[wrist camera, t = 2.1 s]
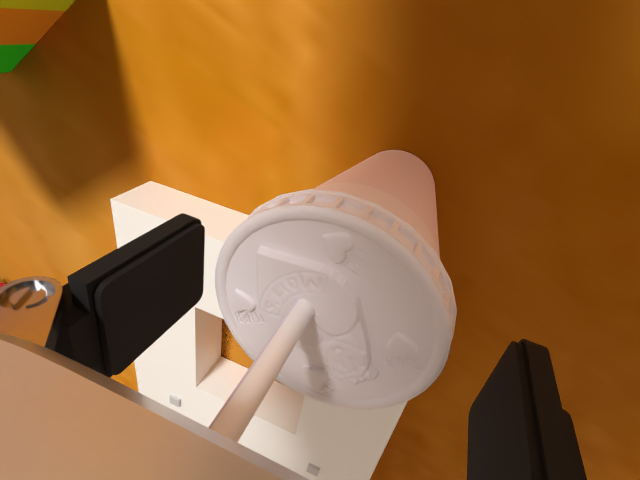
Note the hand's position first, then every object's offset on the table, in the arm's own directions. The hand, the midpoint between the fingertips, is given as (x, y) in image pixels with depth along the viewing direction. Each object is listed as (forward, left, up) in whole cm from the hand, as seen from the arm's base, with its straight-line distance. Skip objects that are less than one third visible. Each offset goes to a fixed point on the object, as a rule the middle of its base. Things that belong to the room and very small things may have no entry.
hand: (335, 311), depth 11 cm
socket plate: (+12, -5, -8) cm, 16 cm away
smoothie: (-1, 0, -8) cm, 8 cm away
